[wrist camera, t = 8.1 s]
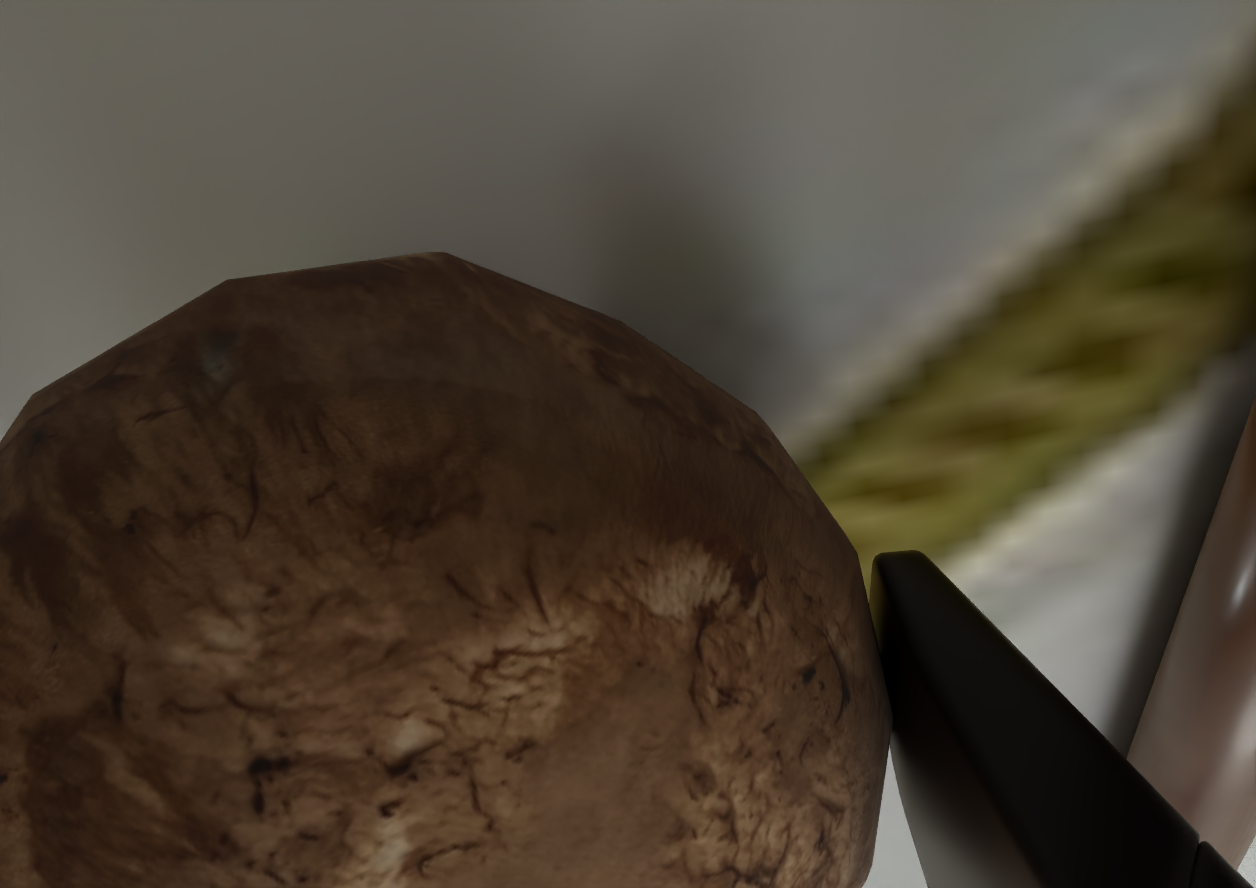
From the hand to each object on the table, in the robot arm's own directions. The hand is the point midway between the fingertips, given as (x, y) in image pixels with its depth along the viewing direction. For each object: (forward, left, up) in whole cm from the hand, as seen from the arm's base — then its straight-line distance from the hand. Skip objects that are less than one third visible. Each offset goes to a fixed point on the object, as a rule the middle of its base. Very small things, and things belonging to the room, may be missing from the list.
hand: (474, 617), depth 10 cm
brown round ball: (0, 0, -2) cm, 2 cm away
